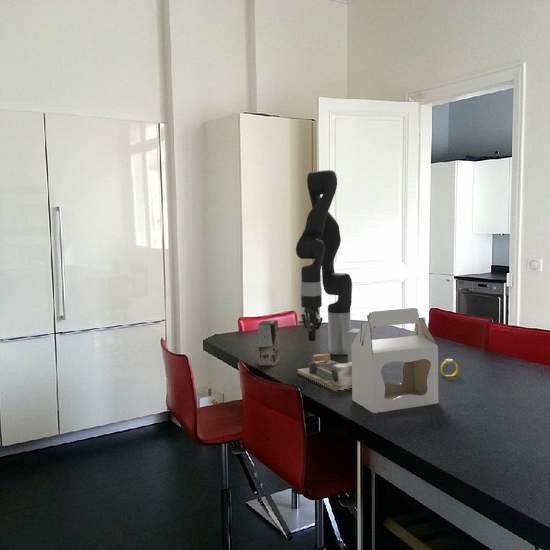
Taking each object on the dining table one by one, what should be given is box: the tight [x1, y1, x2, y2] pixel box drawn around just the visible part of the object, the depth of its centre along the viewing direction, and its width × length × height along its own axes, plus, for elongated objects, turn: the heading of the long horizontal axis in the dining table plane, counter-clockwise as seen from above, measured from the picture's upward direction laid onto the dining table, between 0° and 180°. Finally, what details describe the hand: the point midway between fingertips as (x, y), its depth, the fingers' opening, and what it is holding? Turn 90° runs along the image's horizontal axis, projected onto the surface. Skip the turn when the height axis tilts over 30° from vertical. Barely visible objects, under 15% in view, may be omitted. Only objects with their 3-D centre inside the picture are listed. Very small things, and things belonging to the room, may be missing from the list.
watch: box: [439, 358, 459, 378], centre depth 198 cm, size 6×3×6 cm, turn 94°
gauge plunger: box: [307, 352, 337, 371], centre depth 204 cm, size 10×6×5 cm, turn 114°
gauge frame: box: [297, 360, 352, 392], centre depth 199 cm, size 15×26×8 cm, turn 24°
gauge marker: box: [308, 362, 316, 374], centre depth 200 cm, size 2×1×4 cm, turn 114°
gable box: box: [351, 307, 439, 414], centre depth 171 cm, size 22×13×28 cm, turn 109°
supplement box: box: [347, 328, 361, 363], centre depth 221 cm, size 7×7×13 cm
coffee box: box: [257, 320, 280, 367], centre depth 225 cm, size 9×6×16 cm
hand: (311, 340), depth 212 cm, fingers closed
